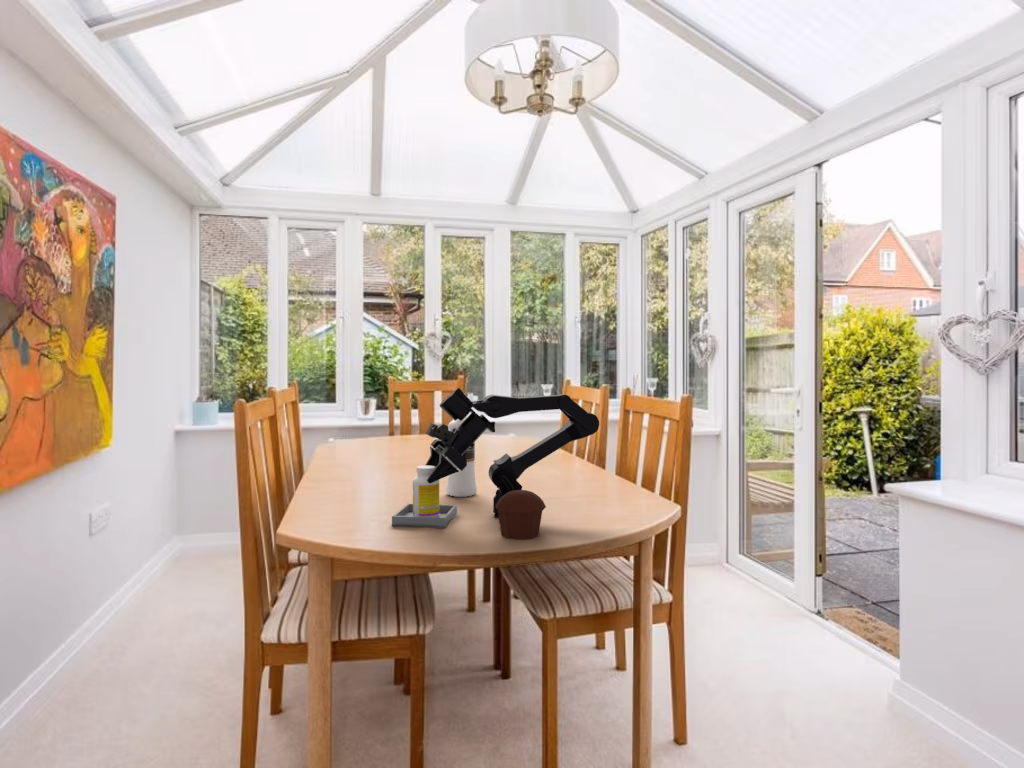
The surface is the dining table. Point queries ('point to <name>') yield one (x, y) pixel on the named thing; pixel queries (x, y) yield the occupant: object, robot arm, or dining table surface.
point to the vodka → (462, 472)
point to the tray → (408, 520)
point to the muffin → (520, 514)
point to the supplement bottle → (425, 493)
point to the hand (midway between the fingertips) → (424, 478)
